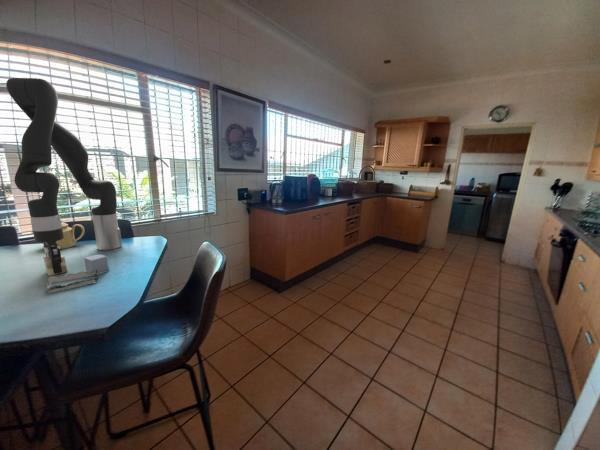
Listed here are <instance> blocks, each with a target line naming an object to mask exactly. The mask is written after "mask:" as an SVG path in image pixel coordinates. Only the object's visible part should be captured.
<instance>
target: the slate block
mask: <svg viewBox="0 0 600 450" xmlns="http://www.w3.org/2000/svg"><path fill="white" fill-rule="evenodd" d="M107 257H108V256H106V255H104V254H100V253H99V254H98V253H97V254H94V255H90V256H87V257H84V259H83V260H84V264H85V269H86V270H85V272H87V273H91V272H92V271H96V270H97V275H98V274H101V273H105V272H108V271H109V262H108V258H107Z"/></svg>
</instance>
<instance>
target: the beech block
mask: <svg viewBox="0 0 600 450" xmlns="http://www.w3.org/2000/svg"><path fill="white" fill-rule="evenodd" d="M42 259H43V263H44V267H45V272H46V274H47V275H48V276H49V277H50V276H56V275H59V274H63V273H67V272H68V268H67V263H66V258H65V256H64V255H63V254H62V253H61V260H62V263H61V268H62V272H61V273H57V274H55V273H54V272H53V267H52V264H51V260H50V259H49V258H48V256H47V257H46V256H43V258H42ZM55 260H58V258H55V259H54V261H55Z"/></svg>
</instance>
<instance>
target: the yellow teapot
mask: <svg viewBox="0 0 600 450" xmlns="http://www.w3.org/2000/svg"><path fill="white" fill-rule="evenodd" d="M61 224H62V230H63V235H64V238H63V239H62V240H58V241H56V243H58V245H60V250H64V249H69V248H71V247H75V246H76V242H77V241H78V240H81V238H82V237H83V236H84V235H85V227H84V226H83V225H82V224H78V223H77V224H73V225H72V226H71V227H70V226H69V224H68V223H67V222H66V223H65V222H63V221H61ZM76 227H79V228H80V229H81V234H80V235H79V236H78V237H77V238H75V229H76Z"/></svg>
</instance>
